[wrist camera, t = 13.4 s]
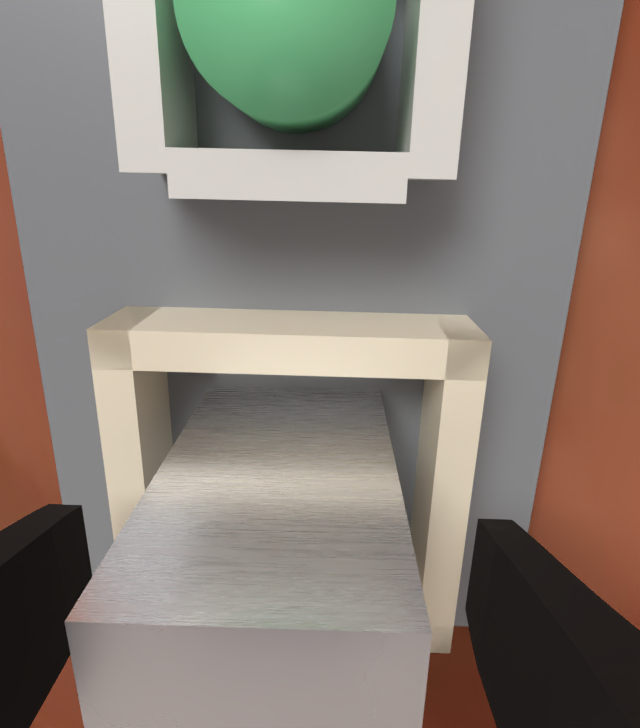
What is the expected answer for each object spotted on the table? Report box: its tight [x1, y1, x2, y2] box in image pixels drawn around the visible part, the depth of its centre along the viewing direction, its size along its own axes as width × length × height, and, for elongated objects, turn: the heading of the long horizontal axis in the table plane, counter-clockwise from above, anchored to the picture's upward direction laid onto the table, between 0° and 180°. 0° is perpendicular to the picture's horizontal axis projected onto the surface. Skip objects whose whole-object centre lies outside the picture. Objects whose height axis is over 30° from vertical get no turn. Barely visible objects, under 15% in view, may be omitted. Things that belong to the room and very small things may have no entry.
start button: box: [173, 0, 396, 134], centre depth 9 cm, size 3×3×2 cm
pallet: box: [0, 0, 624, 653], centre depth 11 cm, size 12×18×3 cm, turn 179°
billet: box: [65, 386, 432, 728], centre depth 10 cm, size 4×4×7 cm
